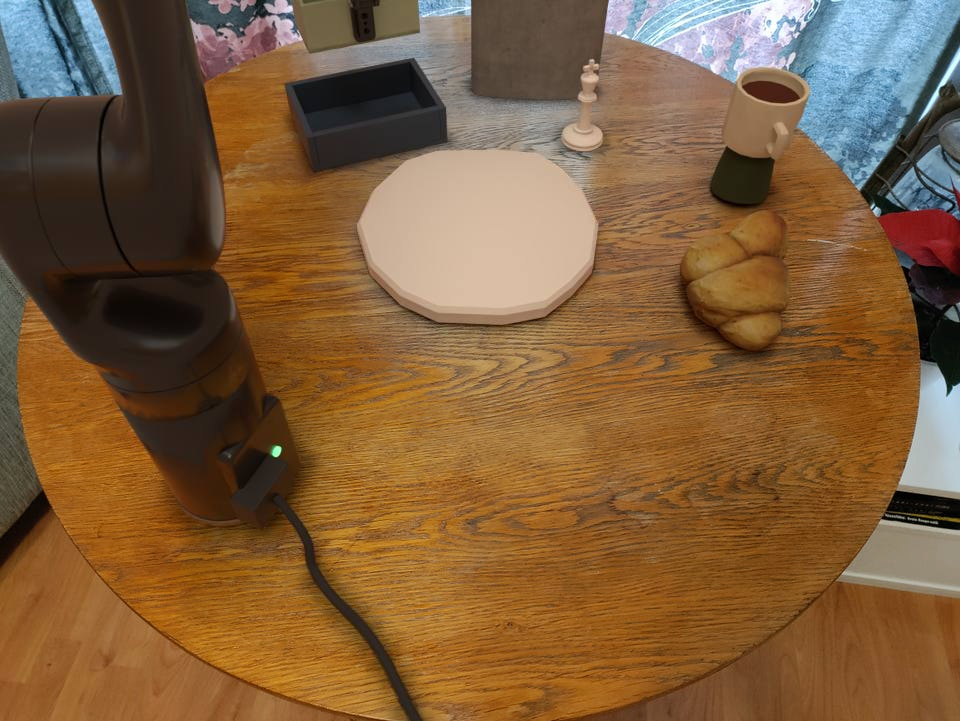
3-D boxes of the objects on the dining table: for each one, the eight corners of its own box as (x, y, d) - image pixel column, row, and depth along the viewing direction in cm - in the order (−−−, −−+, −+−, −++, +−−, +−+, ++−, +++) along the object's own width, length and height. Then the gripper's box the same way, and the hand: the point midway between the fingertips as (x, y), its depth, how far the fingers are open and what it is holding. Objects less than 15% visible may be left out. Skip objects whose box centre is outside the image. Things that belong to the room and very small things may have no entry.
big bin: (416, 91, 97) (414, 57, 93) (447, 142, 90) (446, 107, 87) (291, 117, 93) (283, 83, 90) (313, 172, 86) (306, 137, 83)
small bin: (402, 6, 85) (399, -41, 81) (420, 33, 81) (417, -15, 77) (295, 25, 82) (286, -22, 78) (309, 54, 78) (300, 6, 74)
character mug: (785, 222, 81) (830, 115, 71) (720, 226, 81) (756, 119, 71) (752, 160, 88) (789, 54, 78) (692, 163, 88) (721, 57, 78)
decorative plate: (364, 133, 84) (589, 133, 84) (368, 164, 87) (585, 164, 88) (340, 298, 68) (616, 297, 69) (346, 328, 72) (609, 328, 72)
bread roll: (792, 362, 69) (823, 301, 63) (684, 357, 70) (705, 297, 63) (765, 263, 77) (791, 201, 71) (669, 260, 78) (686, 197, 71)
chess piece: (555, 131, 92) (562, 52, 84) (593, 124, 93) (603, 45, 85) (570, 154, 89) (579, 75, 81) (609, 147, 90) (622, 68, 82)
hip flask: (595, 84, 98) (618, -84, 83) (597, 101, 96) (621, -68, 80) (471, 81, 98) (471, -87, 83) (470, 99, 96) (469, -71, 80)
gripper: (274, -179, 71) (305, -1, 84) (311, -124, 63) (339, 65, 76) (352, -188, 73) (371, -12, 86) (398, -136, 65) (411, 51, 78)
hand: (356, 23), depth 81 cm, fingers closed on small bin, 6 cm apart
